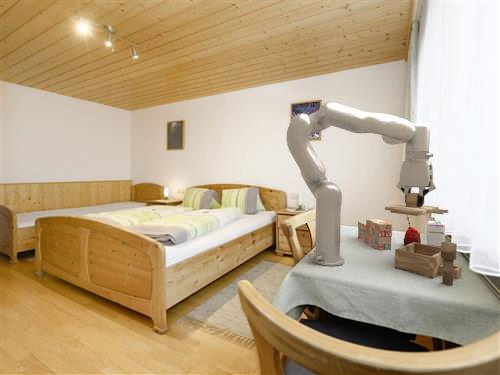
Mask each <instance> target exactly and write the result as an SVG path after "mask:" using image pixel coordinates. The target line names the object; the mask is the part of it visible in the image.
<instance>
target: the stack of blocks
mask: <svg viewBox="0 0 500 375" xmlns="http://www.w3.org/2000/svg"><path fill="white" fill-rule="evenodd" d="M392 235H393V223H390V222H388V221H385V220H382V219H379V218H367V219H365V221H358V222H357V238H358V239H359V240H360V241H362V242H363V243H365V244H367V245H369V246H370V247H372V248H374V249H375V250H377V251H392Z"/></svg>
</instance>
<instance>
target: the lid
mask: <svg viewBox="0 0 500 375" xmlns="http://www.w3.org/2000/svg"><path fill="white" fill-rule="evenodd" d="M418 196H419V192H411V193H408V194H407V195H406V203H402V204H401V203H400V204H394V205H389V206H384V210H385V211H390V212H389V213H391V214H397V215H399V214H400V215H407V216H414V217H419V216H424V215H428V214H435V215H444V214H449V209H443V208H441V209H440V207H439V206H433V205H423V206H422V207H418V206H417V201H418Z"/></svg>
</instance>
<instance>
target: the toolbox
mask: <svg viewBox="0 0 500 375" xmlns="http://www.w3.org/2000/svg"><path fill="white" fill-rule="evenodd" d="M394 250H395V251H394V253H395V254H394V269H397V270H400V271H404V272H407V273H410V274H415V275H418V276H422V277H425V278H429V279H434V278H436V277H437V276H442V277H443V258H441V247H436V246H431V245H427V243H426V244H425V243H422V242H421V243H415V242H413V243H411V244H408V245H403V246H401V247H398V248H395V249H394ZM462 273H463V267H462V266H458V265H454V264H453V280H458V279H460V278H461V277H462V275H463V274H462Z"/></svg>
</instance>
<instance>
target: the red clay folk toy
mask: <svg viewBox="0 0 500 375" xmlns="http://www.w3.org/2000/svg"><path fill="white" fill-rule="evenodd" d="M410 218H411V216H409V215H406V219H407V221H408V225H409V227H408V228H407V230H406V231H405V233H404V238H403V246H405V245H408V244H411V243H413V242H415V243H421V244H422V240H421V232H419V231H418V229H416V228H414V227H412V226H411V225H410V224H411V222H410V220H409V219H410Z"/></svg>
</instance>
